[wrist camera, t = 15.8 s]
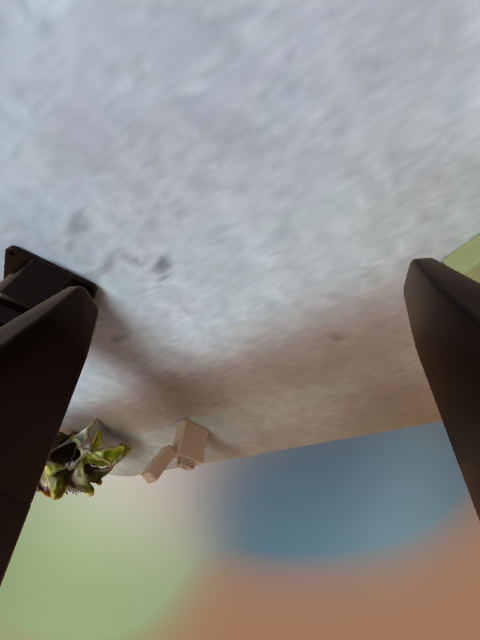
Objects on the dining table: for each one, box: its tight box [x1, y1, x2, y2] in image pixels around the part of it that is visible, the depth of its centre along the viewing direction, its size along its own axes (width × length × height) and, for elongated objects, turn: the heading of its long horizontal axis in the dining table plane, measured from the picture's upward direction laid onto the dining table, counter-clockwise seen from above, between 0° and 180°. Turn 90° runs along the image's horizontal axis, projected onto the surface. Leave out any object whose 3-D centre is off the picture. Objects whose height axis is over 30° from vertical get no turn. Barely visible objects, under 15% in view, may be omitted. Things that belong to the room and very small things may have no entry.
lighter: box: [141, 420, 209, 483], centre depth 37 cm, size 7×2×8 cm, turn 45°
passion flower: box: [36, 419, 131, 500], centre depth 42 cm, size 11×11×12 cm
